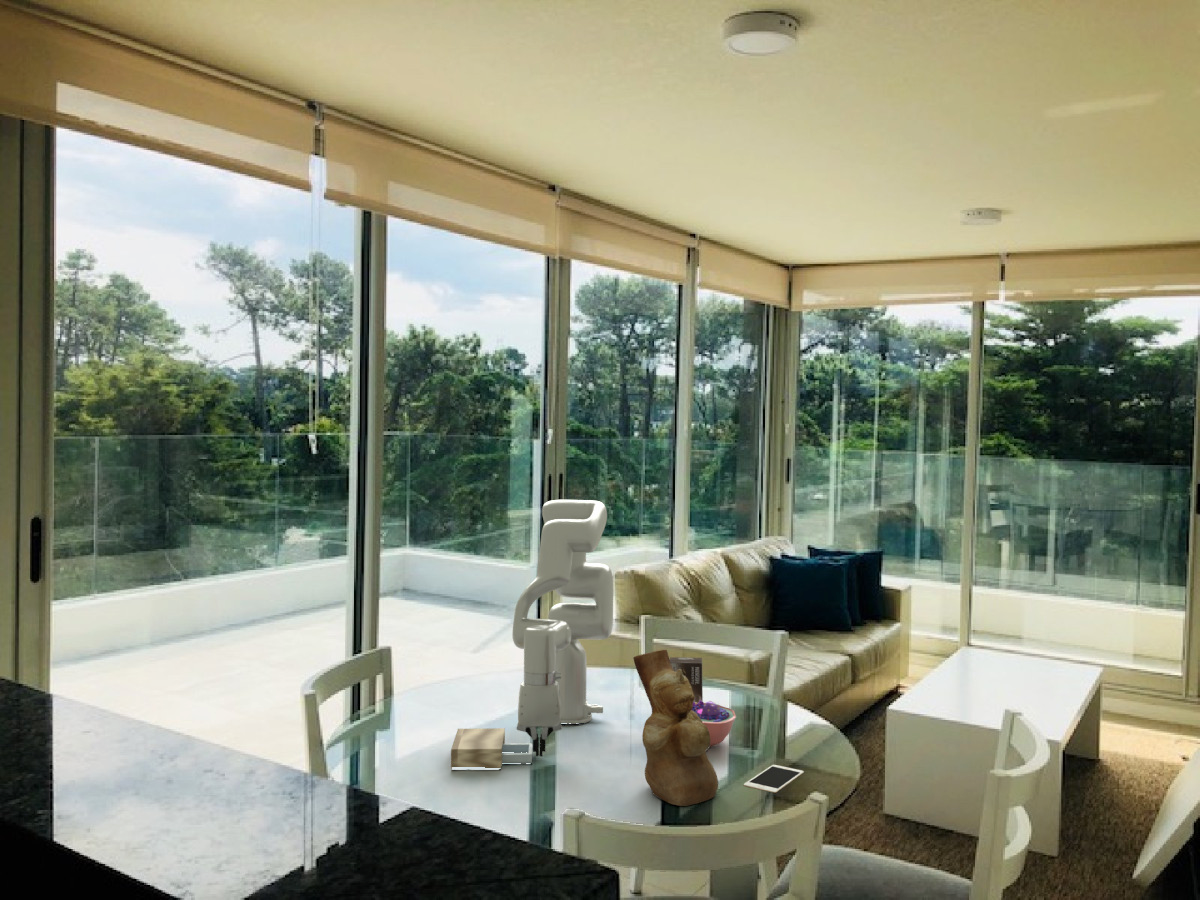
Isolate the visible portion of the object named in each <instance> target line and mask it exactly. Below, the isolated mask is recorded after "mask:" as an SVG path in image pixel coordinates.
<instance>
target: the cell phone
mask: <svg viewBox="0 0 1200 900" xmlns="http://www.w3.org/2000/svg"><path fill="white" fill-rule="evenodd" d="M804 772H805V771H804V770H801V769H798V768H797V769H796V768H792V767H788V766H787V767H786V766H783V765H778V764H777V765H776V764H771V765H770V766H769V767H767V768H766V769H764V770H763V771H761V772H759V773H758V774H756V775H755V776H754V777H752V778H751V779H749V780H747V781H746V782H744V784H743V786H744V787H747V788H752V789H757V790H762V791H766V792H770V793H773V794H774V793H775V794H777V793H778V792H779V791H780V790H782V789H783V788H785V787H786V786H788V785H789V784H790V783H792V782H793V781H794V780H796V779H797V778H798V777H799V776H801V775H802V774H804Z"/></svg>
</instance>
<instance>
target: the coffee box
mask: <svg viewBox="0 0 1200 900" xmlns="http://www.w3.org/2000/svg"><path fill="white" fill-rule="evenodd" d="M669 659H670V663H671V665H672V668H673V670H674V671H675V672H677V670H678V669H681V670H682V672H683V675H684V676H685V677H686V678H687V679H688V681H689V683H690V685H691V687H692V691H693V694H694V701H693V702H696V703H698V702H699V700H701V701H702V702H704V700H703V698H704V696H703V691H704V690H703V658H702V657H680V656H679V657H678V656H677V657H675V656H674V657H671V656H669Z"/></svg>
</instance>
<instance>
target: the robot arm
mask: <svg viewBox="0 0 1200 900" xmlns="http://www.w3.org/2000/svg"><path fill="white" fill-rule="evenodd" d="M541 515H542V518H543V523H544V525H543V527H542V530H541V536H540V545H539V552H538V553H539V554H538V555H539V556H538V563H537V574H536V577H535V578H534V580H533V581H532V582H530V584H528V585H527V586H526V588H525V589H524V590H523V591H522V594H520V596H519V598H518V600H517V603H516V606H515V609H514V617H513V623H512V642H513V643H514V645H515V647H517V648H518V649H521V650H523V681H522V682H521V683H520V687H519V692H518V705H517V721H518V722H517V724H516V730H517V731H519V732H524V733H526V734H527V735H529V737H531V740H532V753H535V757H543V753H545V752H546V741H547V739H548V737H549V736H550V735H551V734H552V733H553V732H558V731H561V730H562V728H563V725H561V723H567V724H569V723H571V724H576V723H584V724H587V723H589V722H591V720H592V719H593V714H604V706H603V705H599V704H590V703H588V699H587V652H586V650H585V648H584V646H583V645H582V643H581V642H580V640H595V641H596V640H598V641H599V640H600V641H601V640H607V639H609V638H610V636H611V635H612V632H613V627H614V576H613V572H612V569H611V567H610V566H609V565H607V564H605V563H597V562H596V563H595V562H593V563H591V562H590V563H589V562H588V561H587V553H589V554H590V553H593V552H595V550H596V549H597V548H598V546H599V543H600V541H601V539H602V535H603V533H604V530H605V527H606V524H607V519H608V512H607V507H606V506H605V504H604V503H603V502H601V501H598V500H594V499H593V500H591V499H589V500H588V499H587V500H584V499H579V500H578V499H554V500H549V501H547V502H544V504H543V506H542V510H541ZM553 591H555V592H556V594H557V595H558V596H560V597H562V598H570V599H589V600H590V599H592V600H594V602H595V603H583V602H559V603H556V604H554V605H553V606H552V607H551V608H550V609H549V611H548V614H547V616H548V617H547V618H530V617H529V618H528V615H529V611H530V608H531V606H533V604H534V603H535V602H536V601H537V600H538V599H539V598H540V597H542V596H544V595H546V594H548V593H550V592H553ZM540 727H541V728H542V729H541V730H542V731H541V734H540V736H539V734H538V732H537V728H540Z"/></svg>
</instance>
